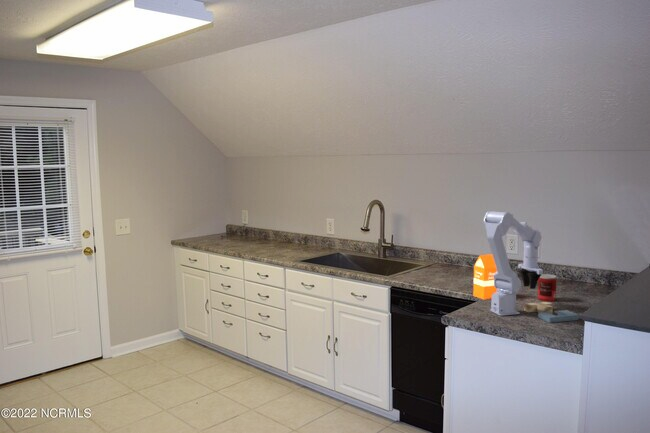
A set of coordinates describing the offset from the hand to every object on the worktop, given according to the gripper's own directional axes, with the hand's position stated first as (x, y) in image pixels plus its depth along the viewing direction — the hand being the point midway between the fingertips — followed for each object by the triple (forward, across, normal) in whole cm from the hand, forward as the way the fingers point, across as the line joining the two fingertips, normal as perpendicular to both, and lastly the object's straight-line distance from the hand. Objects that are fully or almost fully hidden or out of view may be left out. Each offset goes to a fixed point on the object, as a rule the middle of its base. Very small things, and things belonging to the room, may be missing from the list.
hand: (529, 287), depth 233 cm
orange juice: (+9, +20, +9) cm, 24 cm away
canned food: (+9, +8, -15) cm, 19 cm away
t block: (+8, -9, 0) cm, 12 cm away
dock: (+8, -18, 0) cm, 20 cm away
